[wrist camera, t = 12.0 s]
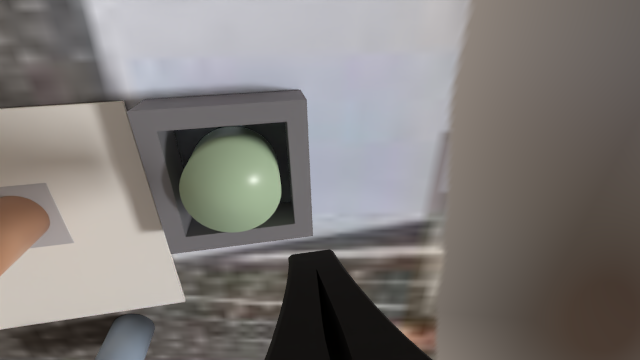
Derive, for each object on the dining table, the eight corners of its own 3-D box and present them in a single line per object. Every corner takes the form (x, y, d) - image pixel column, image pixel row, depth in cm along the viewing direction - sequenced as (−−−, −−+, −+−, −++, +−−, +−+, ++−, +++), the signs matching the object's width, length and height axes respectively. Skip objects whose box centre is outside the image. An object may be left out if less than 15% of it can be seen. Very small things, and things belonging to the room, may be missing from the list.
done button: (281, 198, 19) (284, 226, 17) (200, 207, 19) (191, 237, 16) (274, 123, 17) (276, 141, 14) (182, 129, 16) (167, 150, 14)
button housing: (307, 213, 21) (312, 235, 18) (180, 228, 20) (170, 254, 17) (300, 89, 17) (306, 99, 15) (144, 99, 16) (126, 111, 14)
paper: (185, 299, 22) (184, 302, 22) (-7, 327, 20) (-9, 331, 20) (123, 100, 16) (122, 101, 16) (-161, 118, 14) (-168, 119, 14)
